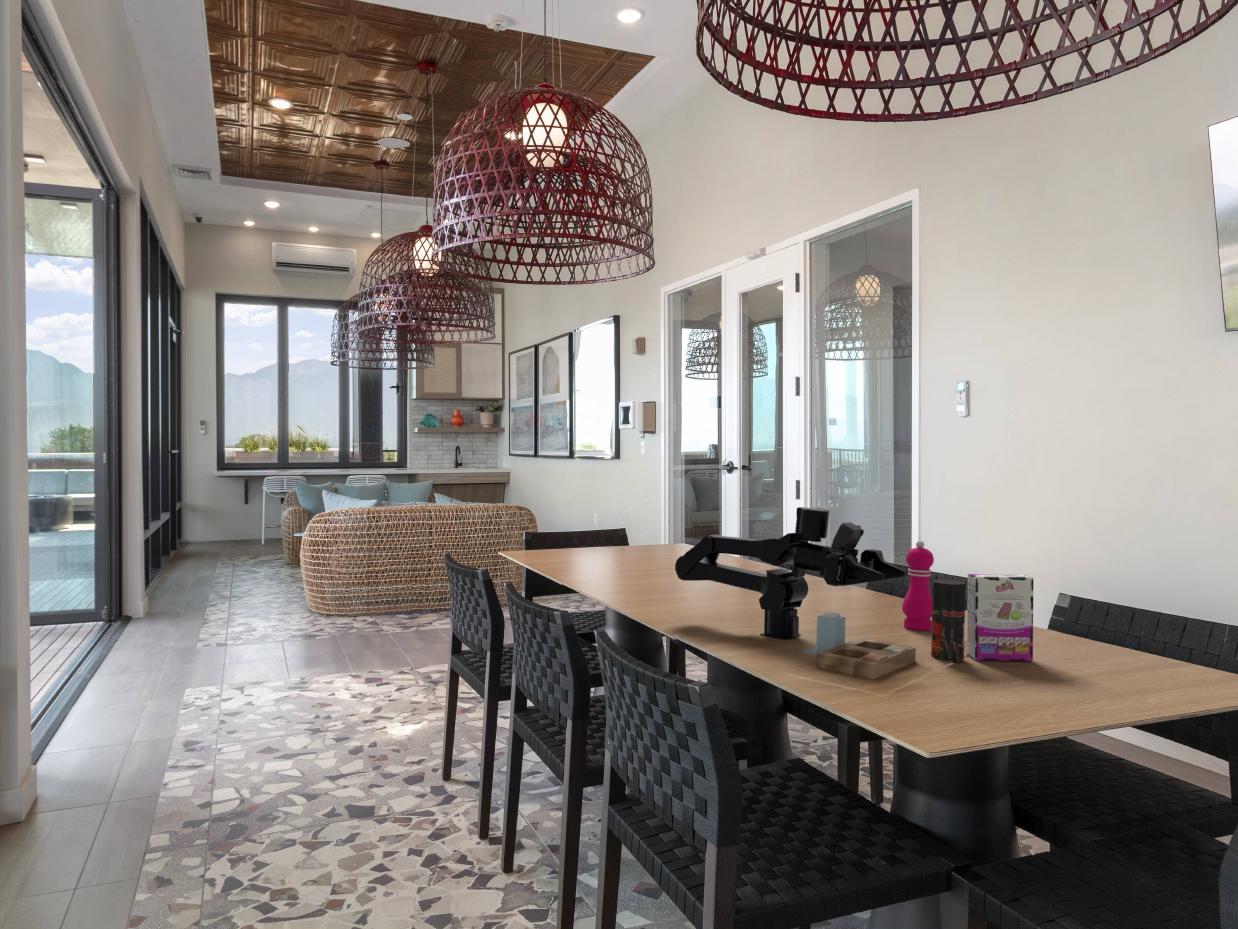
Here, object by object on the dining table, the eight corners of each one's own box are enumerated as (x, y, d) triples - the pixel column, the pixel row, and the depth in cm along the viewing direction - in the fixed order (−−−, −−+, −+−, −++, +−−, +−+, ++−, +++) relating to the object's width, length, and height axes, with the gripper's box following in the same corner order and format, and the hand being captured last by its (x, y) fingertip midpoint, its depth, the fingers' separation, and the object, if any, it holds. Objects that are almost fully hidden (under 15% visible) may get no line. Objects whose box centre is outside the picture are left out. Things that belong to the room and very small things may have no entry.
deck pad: (798, 653, 164) (798, 651, 163) (821, 646, 170) (821, 644, 170) (840, 662, 157) (840, 659, 157) (862, 654, 164) (862, 652, 164)
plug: (816, 651, 164) (817, 613, 164) (826, 648, 167) (827, 610, 167) (835, 655, 161) (835, 616, 161) (844, 651, 164) (845, 613, 164)
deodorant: (966, 663, 158) (968, 585, 158) (933, 661, 159) (935, 583, 159) (960, 656, 164) (962, 580, 163) (928, 654, 165) (930, 579, 165)
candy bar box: (1021, 656, 165) (1023, 573, 165) (1033, 662, 160) (1035, 577, 160) (964, 654, 165) (966, 572, 165) (974, 661, 160) (976, 576, 160)
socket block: (816, 669, 151) (816, 651, 151) (861, 653, 165) (861, 636, 165) (873, 681, 144) (873, 662, 144) (915, 663, 157) (915, 646, 157)
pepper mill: (939, 631, 187) (941, 542, 187) (907, 630, 187) (909, 542, 187) (928, 624, 194) (930, 539, 194) (897, 624, 194) (899, 538, 194)
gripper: (803, 522, 164) (877, 536, 153) (849, 520, 178) (920, 533, 167) (797, 577, 165) (869, 595, 154) (843, 571, 178) (912, 587, 168)
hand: (894, 575), depth 161 cm, fingers open, 9 cm apart
